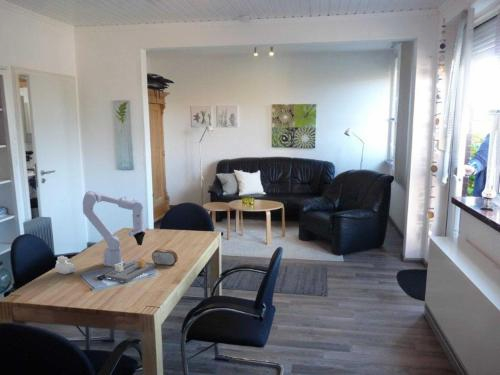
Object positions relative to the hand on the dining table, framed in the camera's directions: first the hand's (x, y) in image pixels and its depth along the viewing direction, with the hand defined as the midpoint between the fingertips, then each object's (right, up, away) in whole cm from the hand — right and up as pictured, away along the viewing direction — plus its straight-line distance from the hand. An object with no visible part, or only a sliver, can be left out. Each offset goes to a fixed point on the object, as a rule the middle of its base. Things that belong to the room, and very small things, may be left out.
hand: (139, 244), depth 235 cm
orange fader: (+5, -10, -14) cm, 18 cm away
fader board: (0, -13, -17) cm, 21 cm away
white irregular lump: (-36, -13, -15) cm, 41 cm away
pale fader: (-5, -11, -20) cm, 23 cm away
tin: (+16, -10, -5) cm, 20 cm away
